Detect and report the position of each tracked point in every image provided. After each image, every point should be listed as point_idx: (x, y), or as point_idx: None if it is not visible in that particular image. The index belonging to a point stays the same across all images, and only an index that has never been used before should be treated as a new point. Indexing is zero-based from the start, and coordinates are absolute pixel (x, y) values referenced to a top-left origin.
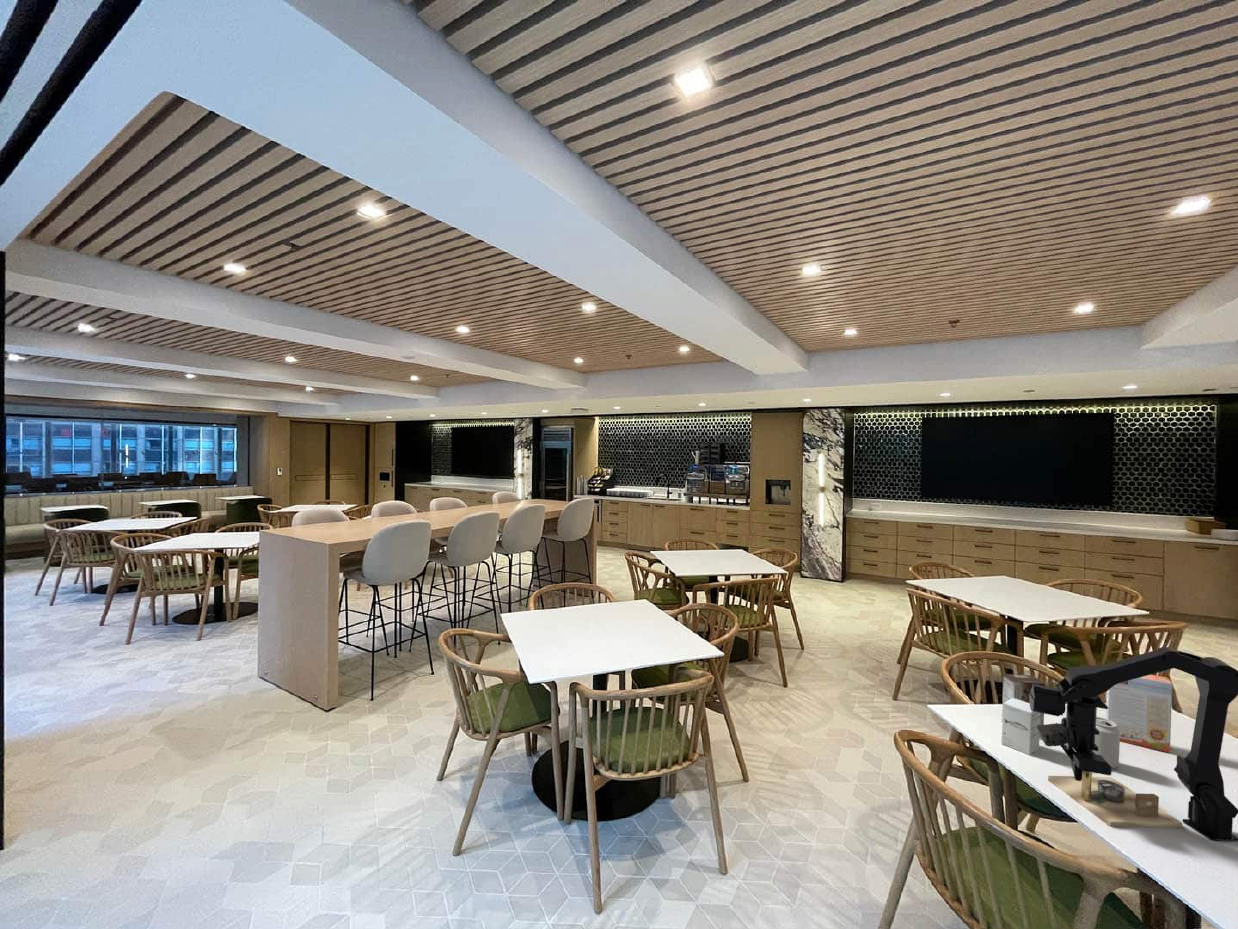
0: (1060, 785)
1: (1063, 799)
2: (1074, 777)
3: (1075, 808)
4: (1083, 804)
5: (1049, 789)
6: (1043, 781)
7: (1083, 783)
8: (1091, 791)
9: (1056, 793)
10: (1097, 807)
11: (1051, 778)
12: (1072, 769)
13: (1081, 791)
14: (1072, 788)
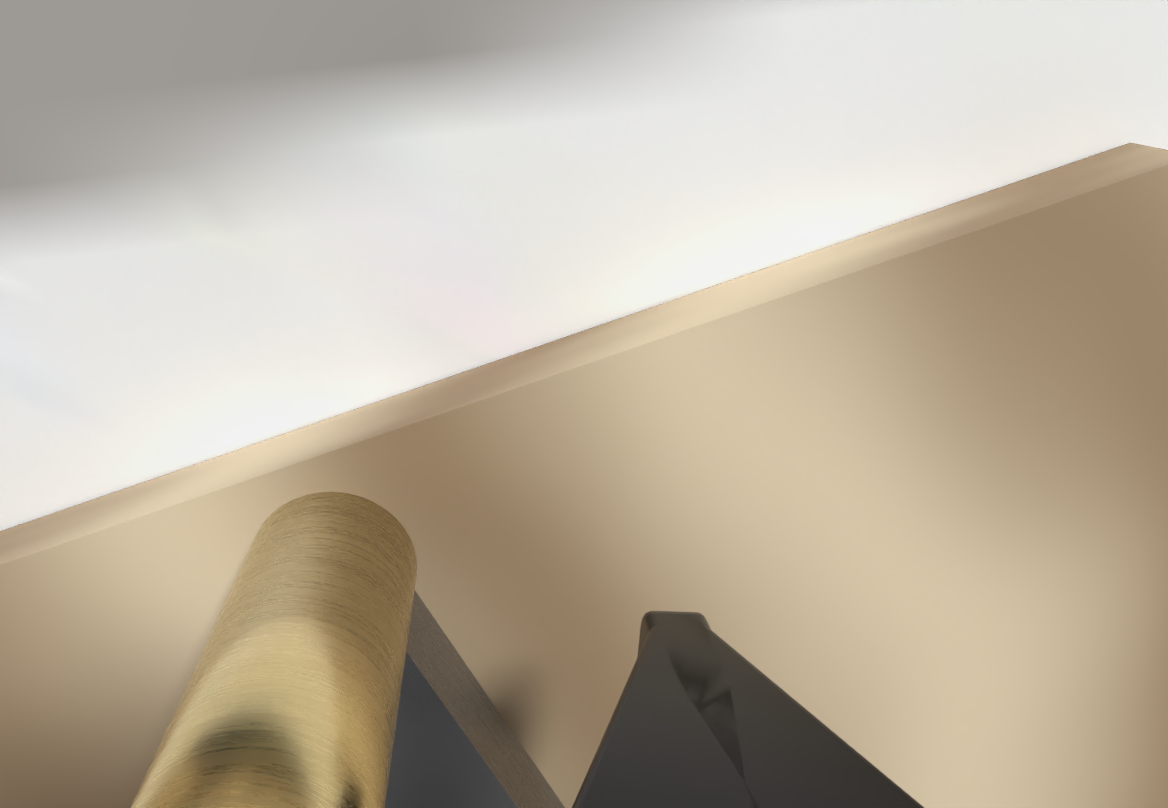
0: (833, 274)
1: (408, 156)
2: (709, 627)
3: (122, 261)
4: (263, 457)
5: (748, 13)
6: (1069, 21)
7: (194, 732)
8: (466, 764)
9: (619, 105)
10: (138, 652)
11: (1094, 190)
12: (819, 734)
13: (322, 559)
14: (756, 470)
